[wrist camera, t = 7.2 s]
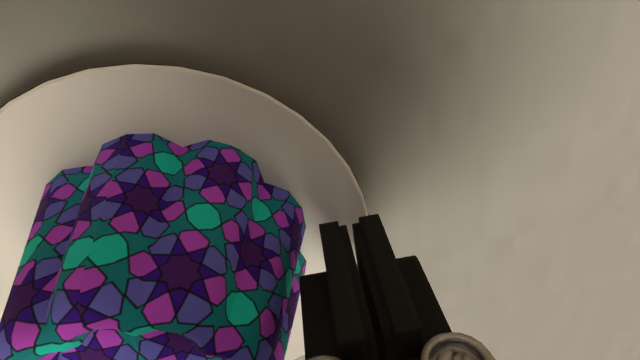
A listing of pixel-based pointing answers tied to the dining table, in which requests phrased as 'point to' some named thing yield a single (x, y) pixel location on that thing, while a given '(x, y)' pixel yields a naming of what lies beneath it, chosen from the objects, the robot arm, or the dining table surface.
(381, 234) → the robot arm
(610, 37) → the dining table surface
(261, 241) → the pudding
